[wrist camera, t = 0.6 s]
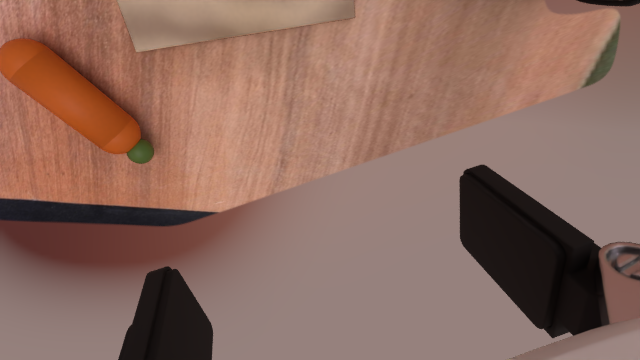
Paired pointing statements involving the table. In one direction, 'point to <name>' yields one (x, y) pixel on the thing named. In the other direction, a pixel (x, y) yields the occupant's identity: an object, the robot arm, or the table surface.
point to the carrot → (72, 98)
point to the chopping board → (221, 18)
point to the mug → (612, 2)
